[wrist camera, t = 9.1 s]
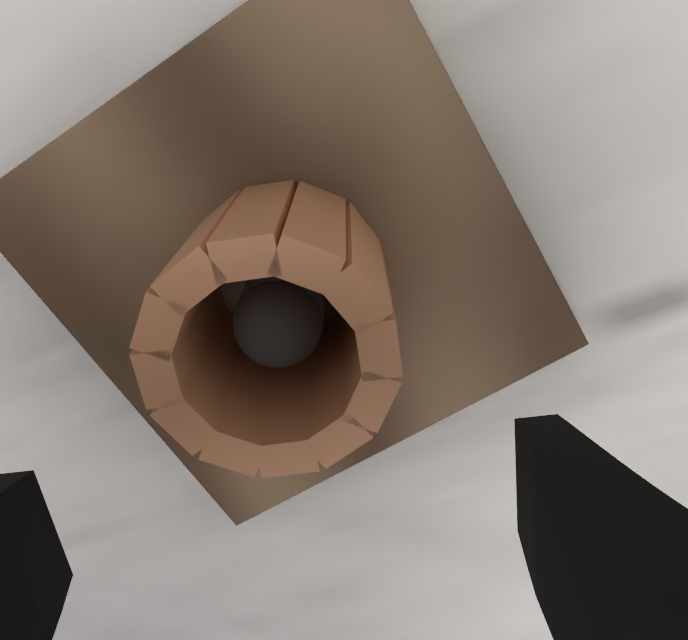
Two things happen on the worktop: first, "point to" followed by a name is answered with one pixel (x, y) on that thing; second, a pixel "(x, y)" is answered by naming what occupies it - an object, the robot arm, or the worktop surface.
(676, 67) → the worktop surface
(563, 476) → the robot arm
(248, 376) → the tube
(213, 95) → the holder
